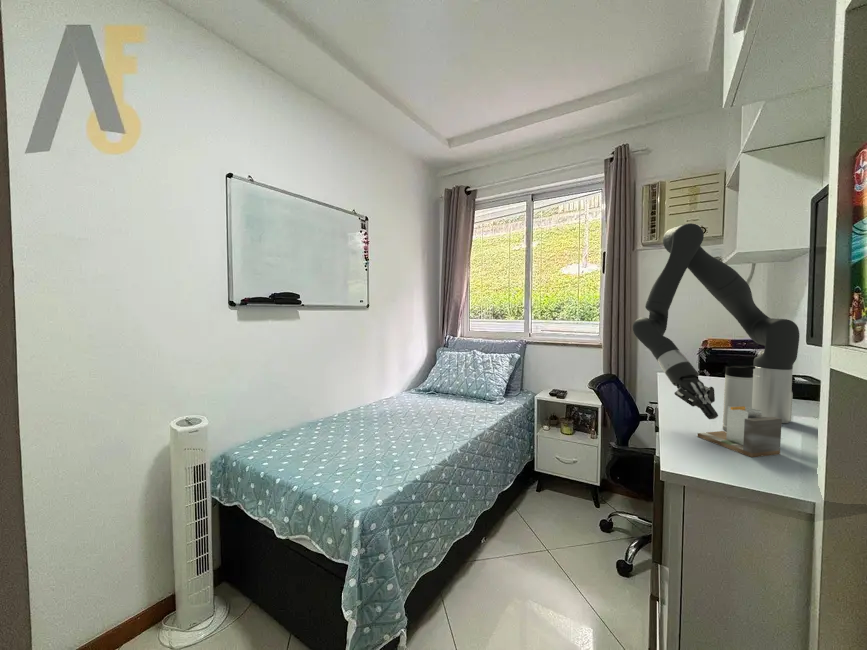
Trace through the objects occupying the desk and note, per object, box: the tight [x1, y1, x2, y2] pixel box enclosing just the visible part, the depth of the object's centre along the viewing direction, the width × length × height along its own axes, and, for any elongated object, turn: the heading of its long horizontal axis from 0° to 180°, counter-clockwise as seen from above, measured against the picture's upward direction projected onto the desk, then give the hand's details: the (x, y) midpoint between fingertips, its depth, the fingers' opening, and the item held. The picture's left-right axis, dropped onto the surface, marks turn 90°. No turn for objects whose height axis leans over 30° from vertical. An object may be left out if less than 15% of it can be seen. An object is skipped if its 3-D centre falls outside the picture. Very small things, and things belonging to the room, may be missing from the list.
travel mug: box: [722, 365, 755, 432], centre depth 103 cm, size 6×7×20 cm
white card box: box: [726, 406, 762, 445], centre depth 91 cm, size 5×6×10 cm
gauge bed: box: [696, 416, 783, 458], centre depth 93 cm, size 14×9×9 cm, turn 12°
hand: (713, 417), depth 99 cm, fingers closed
